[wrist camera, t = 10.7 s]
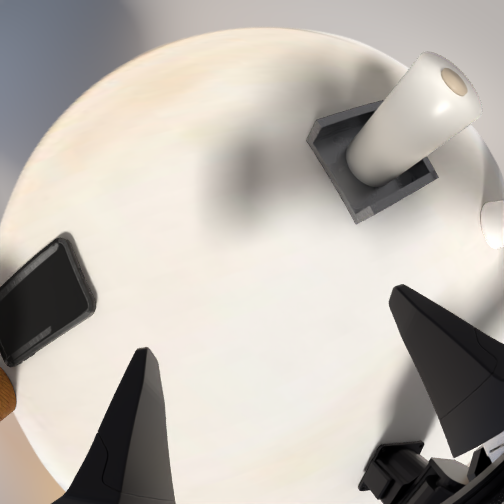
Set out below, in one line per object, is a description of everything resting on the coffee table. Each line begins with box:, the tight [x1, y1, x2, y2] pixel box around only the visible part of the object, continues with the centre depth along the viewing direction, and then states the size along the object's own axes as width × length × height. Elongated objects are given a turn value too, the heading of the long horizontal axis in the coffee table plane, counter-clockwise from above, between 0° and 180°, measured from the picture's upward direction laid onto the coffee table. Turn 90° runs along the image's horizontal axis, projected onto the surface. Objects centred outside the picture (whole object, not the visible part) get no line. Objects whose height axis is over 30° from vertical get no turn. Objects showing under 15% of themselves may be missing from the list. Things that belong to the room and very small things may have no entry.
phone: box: [0, 238, 96, 367], centre depth 21 cm, size 8×1×15 cm
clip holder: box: [306, 100, 439, 224], centre depth 23 cm, size 9×9×4 cm
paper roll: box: [346, 52, 482, 187], centre depth 17 cm, size 5×5×13 cm
